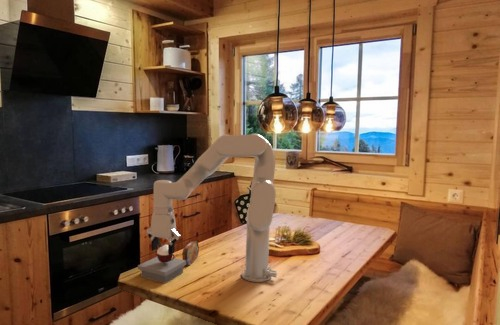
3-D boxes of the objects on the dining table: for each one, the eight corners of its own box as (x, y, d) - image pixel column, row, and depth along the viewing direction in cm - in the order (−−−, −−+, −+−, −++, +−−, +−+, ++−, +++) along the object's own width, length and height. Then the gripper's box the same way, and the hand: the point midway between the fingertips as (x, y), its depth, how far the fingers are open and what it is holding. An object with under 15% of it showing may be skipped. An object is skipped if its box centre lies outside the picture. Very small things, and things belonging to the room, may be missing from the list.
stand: (186, 272, 155) (186, 260, 154) (165, 284, 142) (165, 272, 142) (160, 265, 161) (160, 254, 160) (137, 277, 148) (137, 265, 148)
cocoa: (176, 262, 150) (178, 234, 149) (163, 266, 145) (165, 237, 144) (164, 255, 156) (165, 228, 155) (151, 258, 152) (152, 231, 151)
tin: (187, 268, 159) (187, 249, 158) (180, 267, 160) (181, 248, 159) (199, 256, 174) (199, 239, 173) (193, 255, 175) (193, 238, 174)
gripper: (185, 211, 148) (185, 252, 150) (152, 206, 156) (152, 245, 157) (174, 215, 142) (174, 258, 143) (140, 209, 149) (140, 250, 151)
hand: (162, 251), depth 150 cm, fingers closed on cocoa, 8 cm apart
